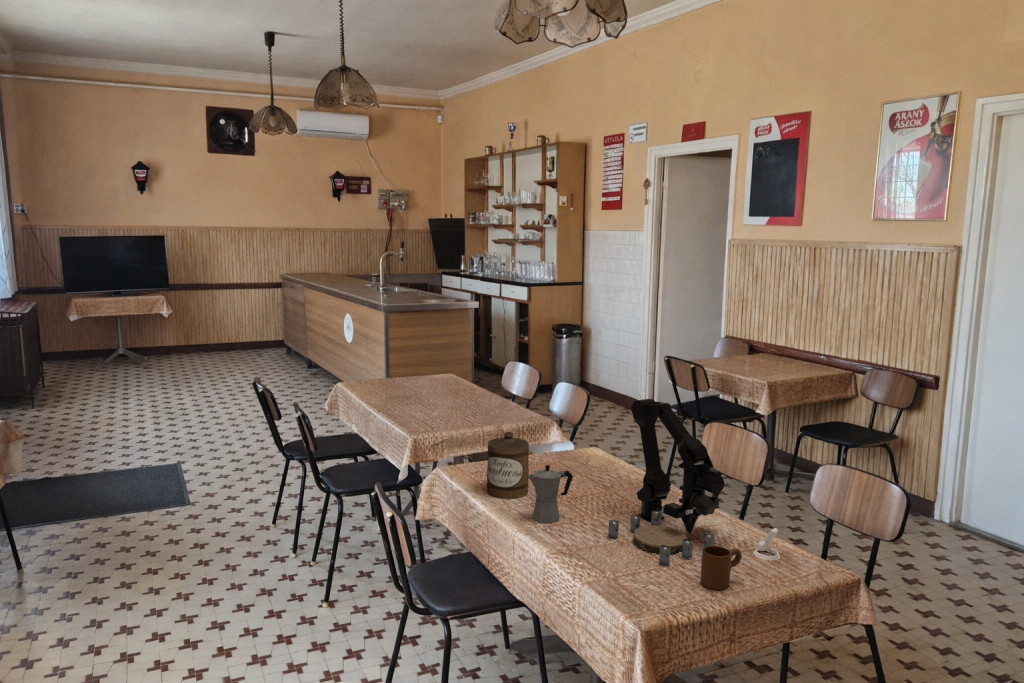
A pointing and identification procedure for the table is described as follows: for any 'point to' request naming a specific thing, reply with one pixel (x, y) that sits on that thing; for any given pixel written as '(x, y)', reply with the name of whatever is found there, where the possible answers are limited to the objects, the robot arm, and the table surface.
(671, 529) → the brown wooden disc
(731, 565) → the mug
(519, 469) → the wooden container
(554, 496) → the coffeepot
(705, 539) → the grey metal cylinder set
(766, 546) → the hook
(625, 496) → the table surface
